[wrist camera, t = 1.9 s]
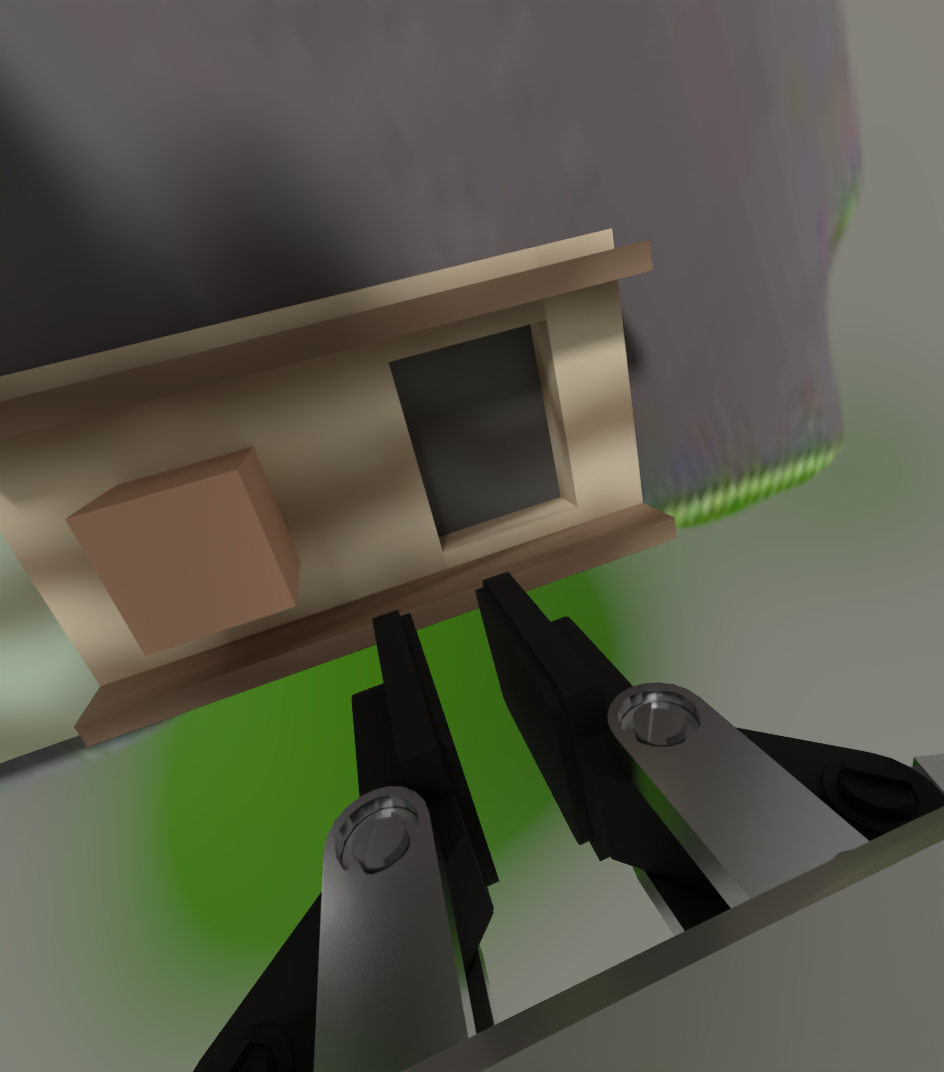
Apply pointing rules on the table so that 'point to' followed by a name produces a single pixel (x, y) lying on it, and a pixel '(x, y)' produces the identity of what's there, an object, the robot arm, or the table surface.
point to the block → (191, 550)
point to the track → (326, 473)
